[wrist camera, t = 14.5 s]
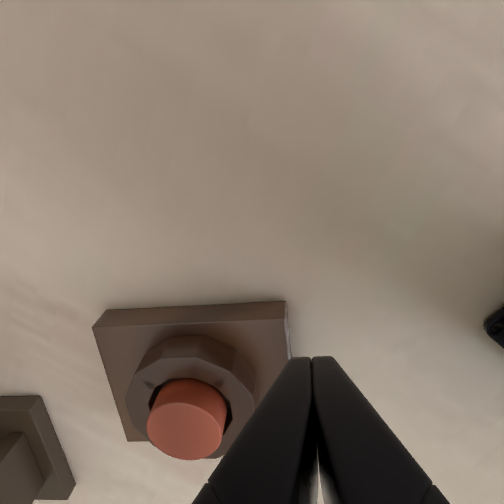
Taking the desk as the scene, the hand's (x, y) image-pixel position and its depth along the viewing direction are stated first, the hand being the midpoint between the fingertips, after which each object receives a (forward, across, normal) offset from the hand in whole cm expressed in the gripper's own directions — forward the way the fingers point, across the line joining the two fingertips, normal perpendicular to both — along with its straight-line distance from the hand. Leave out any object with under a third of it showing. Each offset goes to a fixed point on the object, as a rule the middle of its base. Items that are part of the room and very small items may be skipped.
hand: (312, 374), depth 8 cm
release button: (+9, +6, +9) cm, 14 cm away
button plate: (+12, +6, +9) cm, 16 cm away
